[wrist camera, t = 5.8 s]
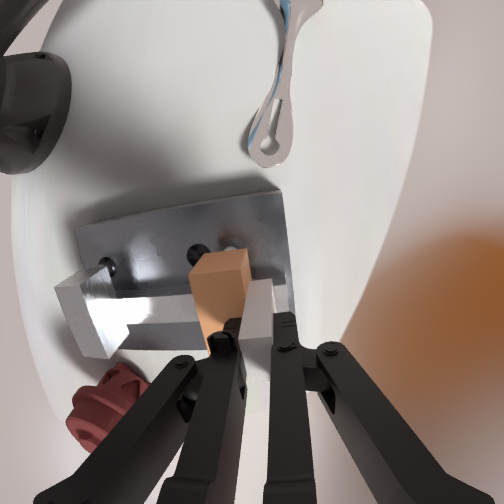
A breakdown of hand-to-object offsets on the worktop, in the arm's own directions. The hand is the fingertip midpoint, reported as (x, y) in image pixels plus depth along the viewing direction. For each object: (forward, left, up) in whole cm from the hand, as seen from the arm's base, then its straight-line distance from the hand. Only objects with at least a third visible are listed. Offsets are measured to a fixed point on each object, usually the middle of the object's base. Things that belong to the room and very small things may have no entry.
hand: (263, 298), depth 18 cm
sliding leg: (0, -2, -3) cm, 4 cm away
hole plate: (0, -7, -7) cm, 10 cm away
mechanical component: (+14, -19, -7) cm, 25 cm away
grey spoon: (-18, +4, -7) cm, 20 cm away
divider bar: (0, -7, -4) cm, 8 cm away
